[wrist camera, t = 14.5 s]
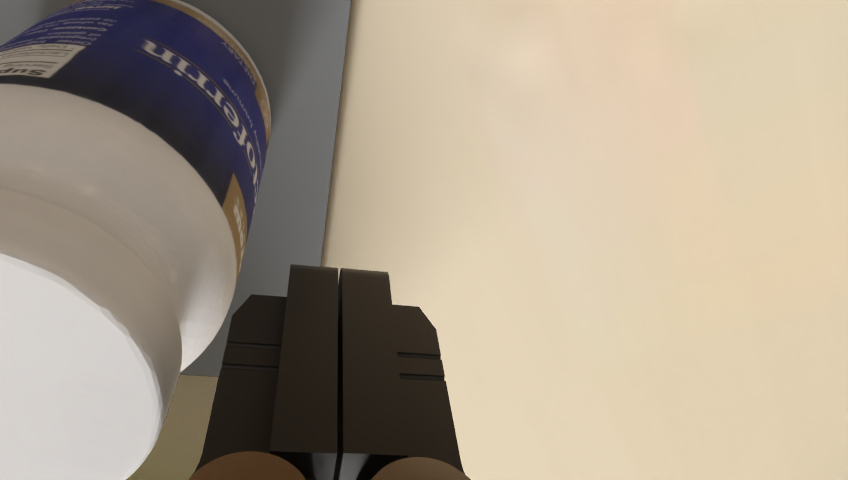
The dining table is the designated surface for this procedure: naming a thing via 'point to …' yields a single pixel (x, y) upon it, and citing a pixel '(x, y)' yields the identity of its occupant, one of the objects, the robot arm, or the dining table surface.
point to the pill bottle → (117, 224)
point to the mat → (289, 137)
